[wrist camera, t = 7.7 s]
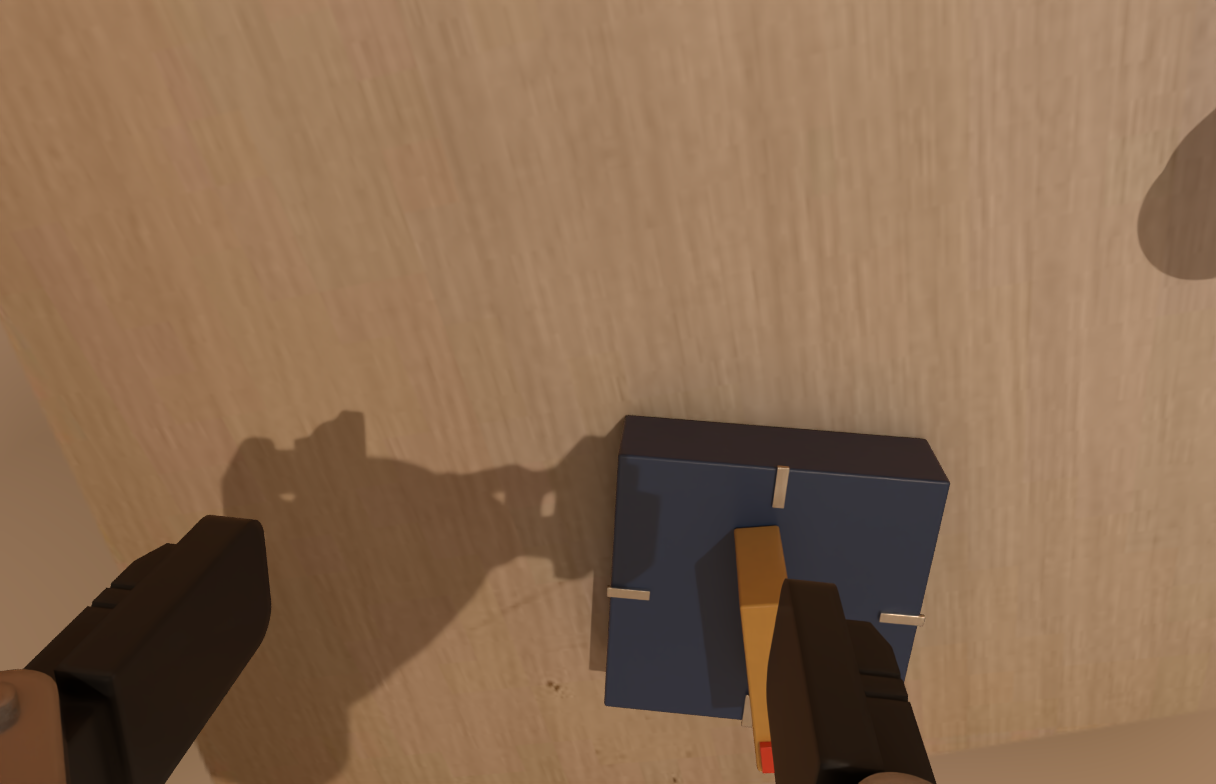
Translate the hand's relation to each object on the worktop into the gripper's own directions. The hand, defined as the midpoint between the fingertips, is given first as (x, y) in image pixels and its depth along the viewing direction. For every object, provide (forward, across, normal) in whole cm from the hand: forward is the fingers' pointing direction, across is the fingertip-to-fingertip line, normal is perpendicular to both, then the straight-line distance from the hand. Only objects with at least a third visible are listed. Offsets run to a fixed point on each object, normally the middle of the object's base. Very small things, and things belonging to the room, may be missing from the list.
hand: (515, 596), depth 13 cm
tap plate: (+16, -6, +9) cm, 19 cm away
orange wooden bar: (+13, -6, +9) cm, 17 cm away
